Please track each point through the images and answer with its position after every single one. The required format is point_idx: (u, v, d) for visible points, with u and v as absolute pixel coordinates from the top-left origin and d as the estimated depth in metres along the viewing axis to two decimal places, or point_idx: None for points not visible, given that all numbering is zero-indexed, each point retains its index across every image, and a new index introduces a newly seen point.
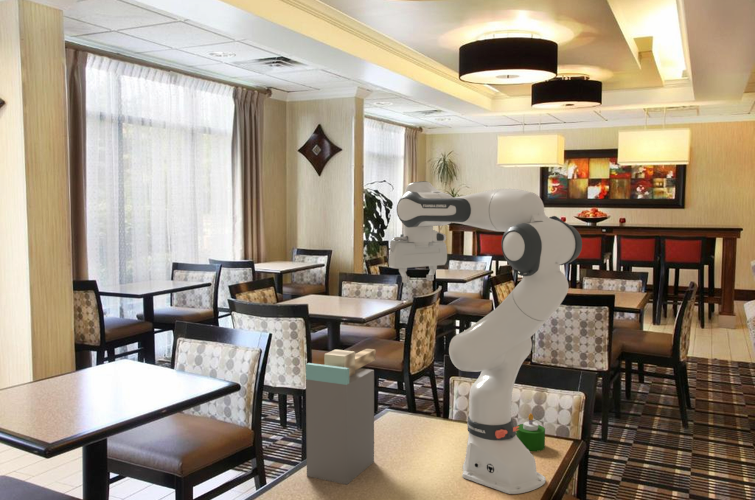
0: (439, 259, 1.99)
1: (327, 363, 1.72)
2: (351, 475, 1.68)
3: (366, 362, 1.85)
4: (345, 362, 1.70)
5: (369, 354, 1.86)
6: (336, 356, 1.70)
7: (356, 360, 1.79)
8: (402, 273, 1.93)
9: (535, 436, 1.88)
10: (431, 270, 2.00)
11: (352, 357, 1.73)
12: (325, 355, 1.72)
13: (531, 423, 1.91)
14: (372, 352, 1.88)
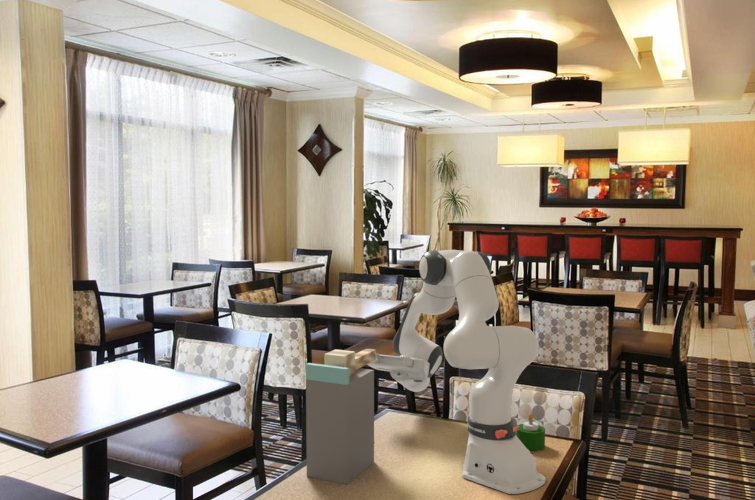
0: None
1: (327, 363, 1.72)
2: (351, 475, 1.68)
3: (366, 362, 1.85)
4: (345, 362, 1.70)
5: (369, 354, 1.86)
6: (336, 356, 1.70)
7: (356, 360, 1.79)
8: None
9: (535, 436, 1.88)
10: None
11: (352, 357, 1.73)
12: (325, 355, 1.72)
13: (531, 423, 1.91)
14: (372, 352, 1.88)
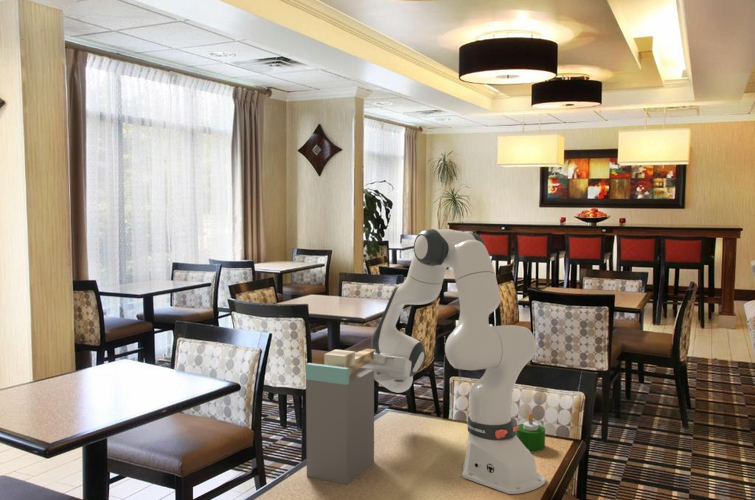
0: None
1: (327, 363, 1.72)
2: (351, 475, 1.68)
3: (366, 362, 1.85)
4: (345, 362, 1.70)
5: (369, 354, 1.86)
6: (336, 356, 1.70)
7: (356, 360, 1.79)
8: None
9: (535, 436, 1.88)
10: None
11: (351, 357, 1.73)
12: (325, 355, 1.72)
13: (531, 423, 1.91)
14: (372, 352, 1.88)
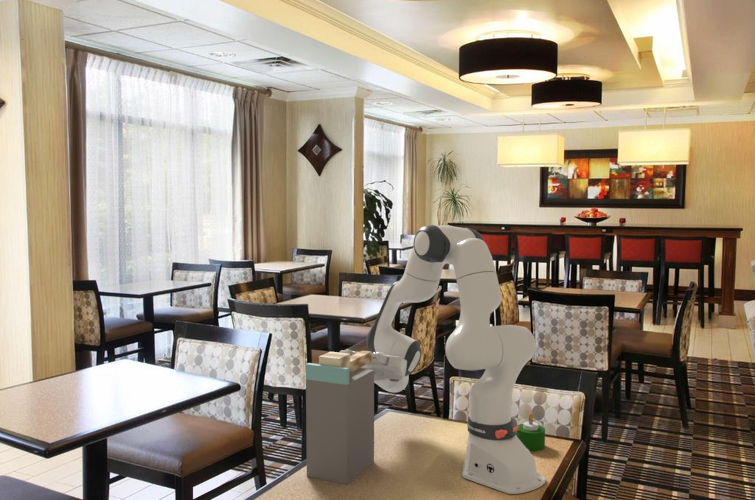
0: None
1: None
2: (351, 475, 1.68)
3: (362, 364, 1.82)
4: (340, 365, 1.67)
5: (365, 356, 1.84)
6: (331, 358, 1.68)
7: (351, 362, 1.76)
8: None
9: (535, 436, 1.88)
10: None
11: (347, 360, 1.71)
12: (320, 357, 1.69)
13: (531, 423, 1.91)
14: (368, 354, 1.85)
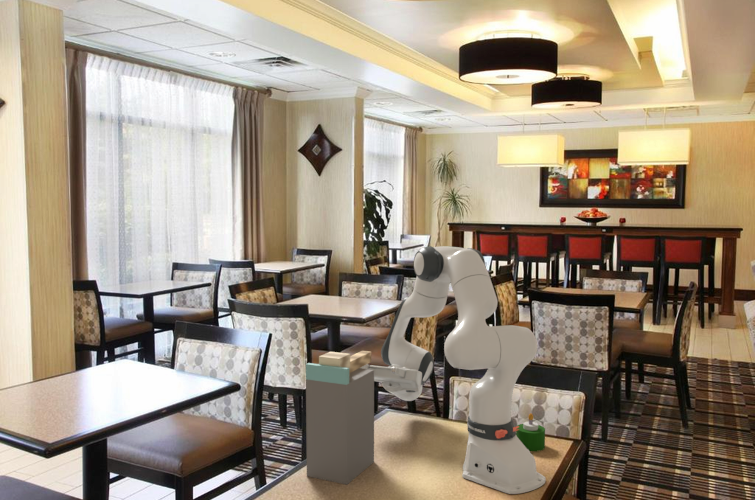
0: None
1: None
2: (351, 475, 1.68)
3: (362, 364, 1.82)
4: (340, 365, 1.67)
5: (365, 356, 1.84)
6: (331, 358, 1.68)
7: (351, 362, 1.76)
8: None
9: (535, 436, 1.88)
10: None
11: (347, 360, 1.71)
12: (320, 357, 1.69)
13: (531, 423, 1.91)
14: (368, 354, 1.85)
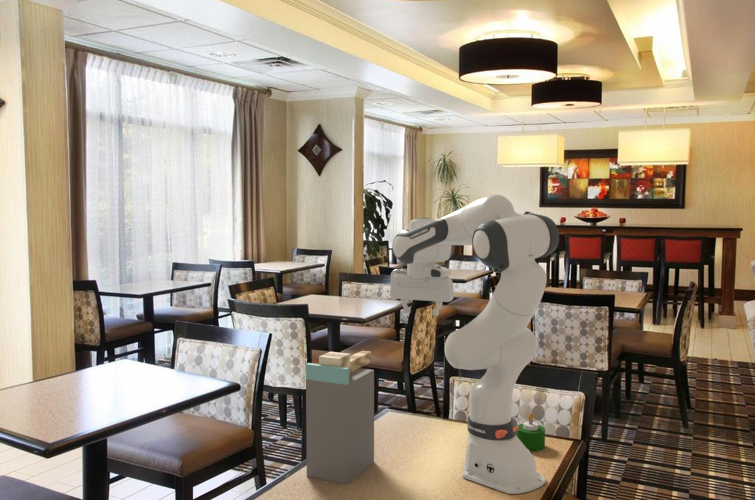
0: (440, 295, 1.97)
1: None
2: (351, 475, 1.68)
3: (362, 364, 1.82)
4: (340, 365, 1.67)
5: (365, 356, 1.84)
6: (331, 358, 1.68)
7: (351, 362, 1.76)
8: None
9: (535, 436, 1.88)
10: None
11: (347, 360, 1.71)
12: (320, 357, 1.69)
13: (531, 423, 1.91)
14: (368, 354, 1.85)
